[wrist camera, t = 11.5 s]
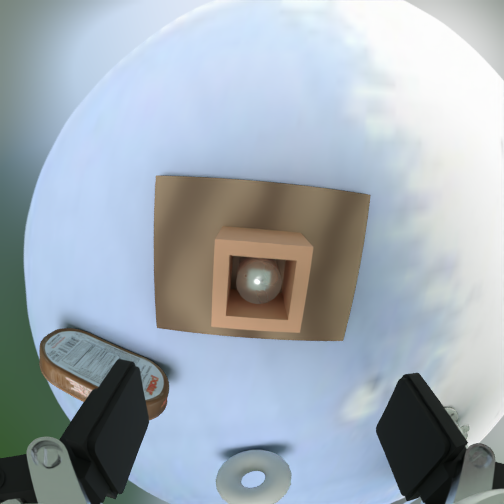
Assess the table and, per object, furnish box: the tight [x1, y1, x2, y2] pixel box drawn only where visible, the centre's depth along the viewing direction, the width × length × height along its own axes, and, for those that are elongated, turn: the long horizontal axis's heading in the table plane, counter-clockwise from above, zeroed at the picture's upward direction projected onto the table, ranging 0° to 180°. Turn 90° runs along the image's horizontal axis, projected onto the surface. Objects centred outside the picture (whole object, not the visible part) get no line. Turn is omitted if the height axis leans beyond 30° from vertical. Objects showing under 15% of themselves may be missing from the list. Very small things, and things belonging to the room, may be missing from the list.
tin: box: [40, 328, 169, 420], centre depth 24 cm, size 15×3×8 cm, turn 71°
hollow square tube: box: [211, 226, 313, 333], centre depth 22 cm, size 6×6×5 cm
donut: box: [216, 450, 291, 504], centre depth 28 cm, size 10×4×10 cm, turn 104°
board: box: [154, 176, 370, 341], centre depth 25 cm, size 18×14×2 cm
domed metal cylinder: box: [236, 256, 282, 304], centre depth 22 cm, size 3×3×4 cm
